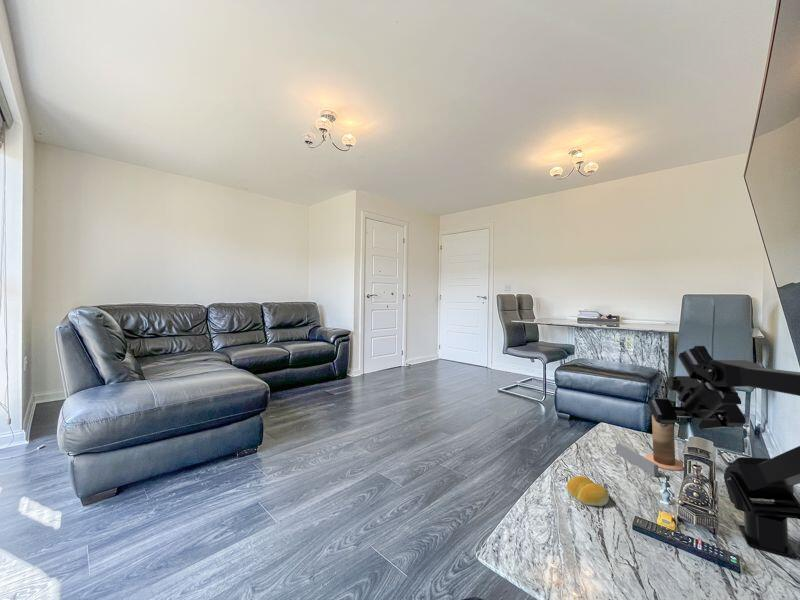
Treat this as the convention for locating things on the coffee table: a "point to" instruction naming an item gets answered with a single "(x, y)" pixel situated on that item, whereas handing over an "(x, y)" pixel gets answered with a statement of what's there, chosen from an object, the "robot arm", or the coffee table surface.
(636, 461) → the grey acrylic wall
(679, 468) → the terracotta coaster
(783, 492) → the robot arm
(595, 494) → the bread roll
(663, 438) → the walnut pin
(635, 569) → the coffee table surface
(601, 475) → the coffee table surface
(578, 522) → the coffee table surface
